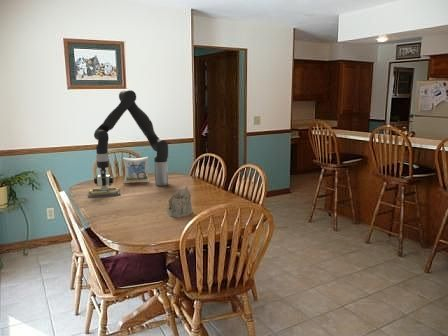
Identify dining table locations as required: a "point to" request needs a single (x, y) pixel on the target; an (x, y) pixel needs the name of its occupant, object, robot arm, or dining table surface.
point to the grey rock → (180, 203)
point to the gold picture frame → (98, 193)
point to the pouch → (136, 169)
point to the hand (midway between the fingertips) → (104, 184)
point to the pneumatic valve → (99, 182)
